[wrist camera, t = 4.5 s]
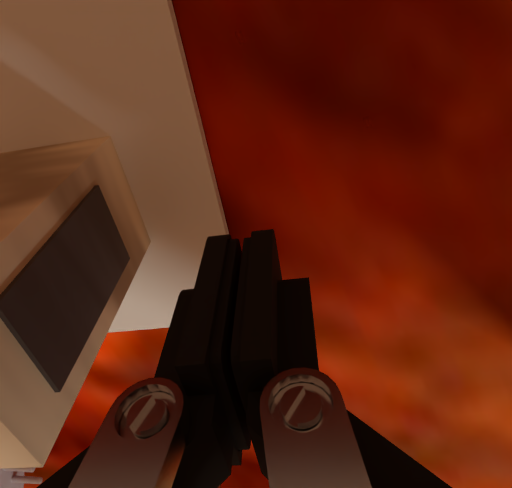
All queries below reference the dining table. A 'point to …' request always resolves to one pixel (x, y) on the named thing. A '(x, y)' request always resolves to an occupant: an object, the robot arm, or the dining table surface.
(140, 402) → the robot arm
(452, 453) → the dining table surface
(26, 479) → the charger
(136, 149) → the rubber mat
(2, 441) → the maple block
